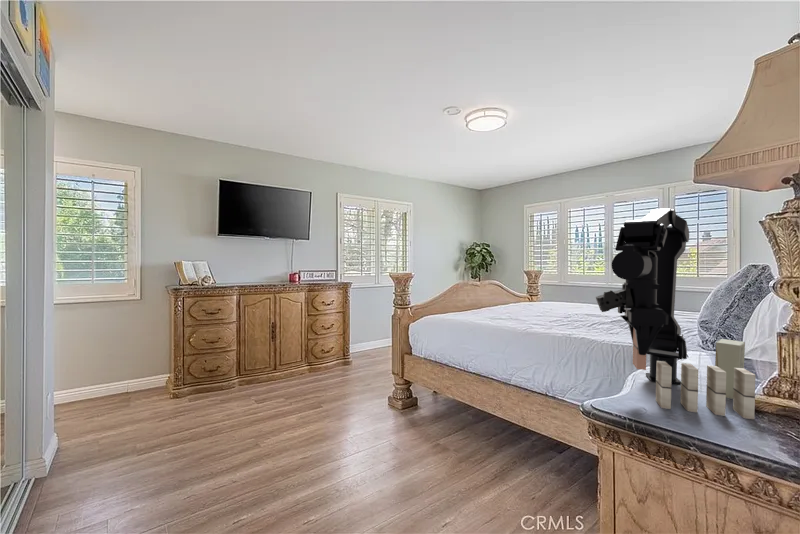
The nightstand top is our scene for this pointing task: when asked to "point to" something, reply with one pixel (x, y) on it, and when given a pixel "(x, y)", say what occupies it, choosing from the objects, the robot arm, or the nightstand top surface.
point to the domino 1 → (638, 355)
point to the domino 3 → (744, 393)
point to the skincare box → (729, 360)
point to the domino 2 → (689, 387)
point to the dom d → (716, 390)
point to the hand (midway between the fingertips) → (639, 352)
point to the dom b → (663, 384)
